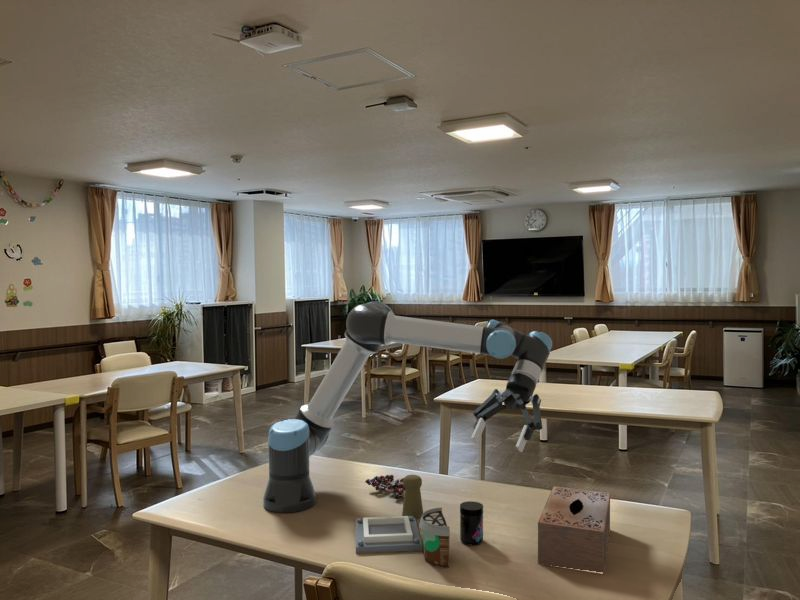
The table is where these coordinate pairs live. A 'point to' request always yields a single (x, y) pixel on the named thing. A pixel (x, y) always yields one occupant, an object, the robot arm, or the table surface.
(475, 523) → the supplement container
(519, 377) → the robot arm
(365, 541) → the base plate
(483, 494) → the table surface
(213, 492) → the table surface
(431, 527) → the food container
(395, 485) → the toy collection
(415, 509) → the cork
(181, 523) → the table surface
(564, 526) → the tissue box cover
